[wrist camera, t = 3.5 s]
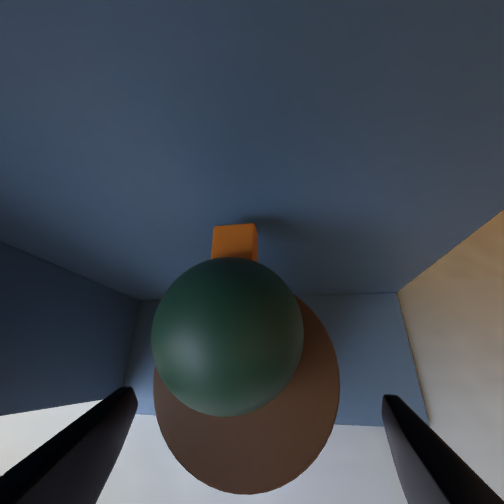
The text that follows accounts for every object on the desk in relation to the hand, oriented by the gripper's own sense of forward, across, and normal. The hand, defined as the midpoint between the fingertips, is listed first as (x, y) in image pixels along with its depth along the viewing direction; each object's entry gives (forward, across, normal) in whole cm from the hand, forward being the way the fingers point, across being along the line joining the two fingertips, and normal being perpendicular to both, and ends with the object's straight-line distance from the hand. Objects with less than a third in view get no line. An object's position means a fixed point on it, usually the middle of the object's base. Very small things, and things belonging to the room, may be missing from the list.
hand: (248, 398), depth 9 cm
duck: (+7, 0, +5) cm, 9 cm away
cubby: (+8, +2, +5) cm, 9 cm away
